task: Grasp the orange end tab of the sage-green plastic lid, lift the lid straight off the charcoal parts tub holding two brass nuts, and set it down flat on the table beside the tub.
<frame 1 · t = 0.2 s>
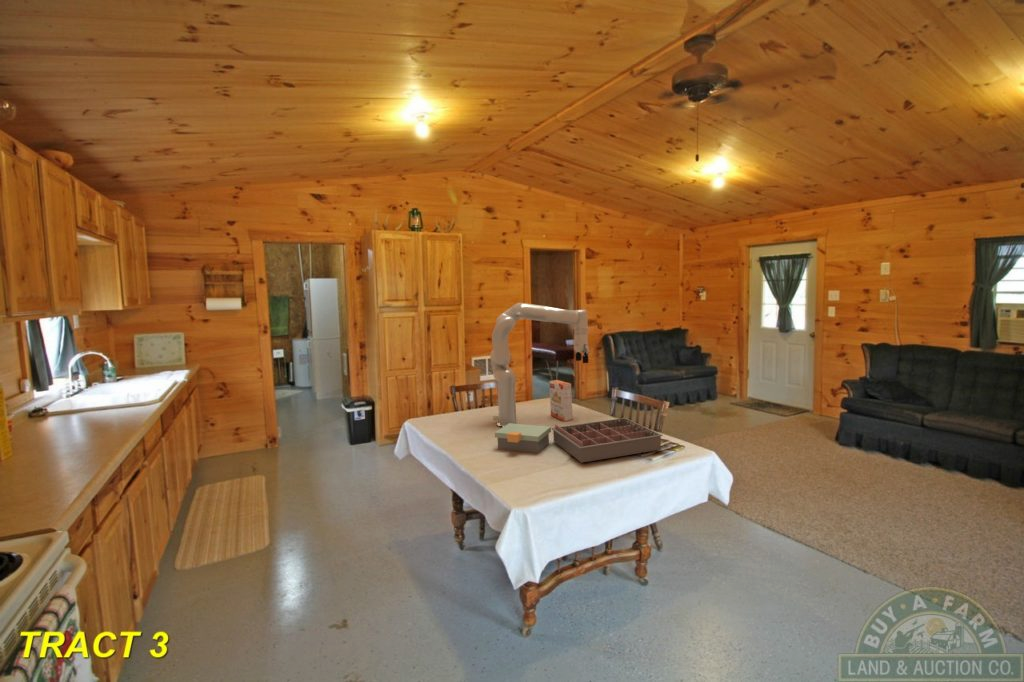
hand: (582, 361, 281), 31 cm above the table, tool pointing down, fingers open, 9 cm apart
brass nut A: (510, 446, 235), point 1 cm above the table, touching tub
tub: (523, 447, 234), on the table
cracker box: (561, 418, 281), on the table
lid: (523, 431, 233), point 8 cm above the table, touching tub
brass nut B: (535, 445, 233), point 1 cm above the table, touching tub
organizer tray: (605, 448, 228), on the table
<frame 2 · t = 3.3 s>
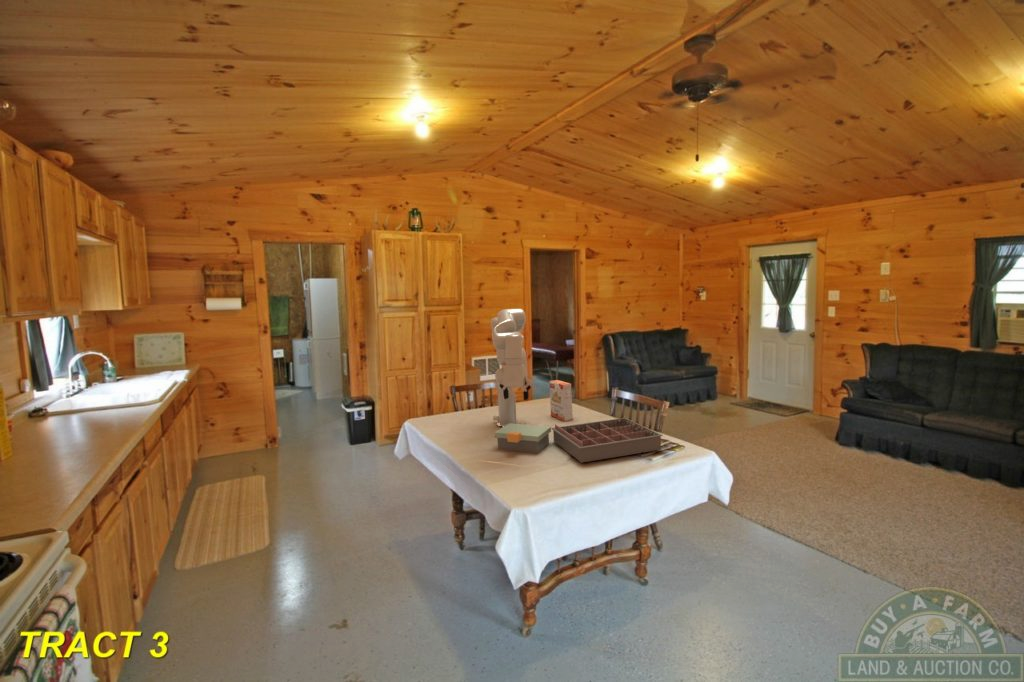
hand: (516, 399, 224), 25 cm above the table, tool pointing down, fingers open, 9 cm apart
nothing on the table moved.
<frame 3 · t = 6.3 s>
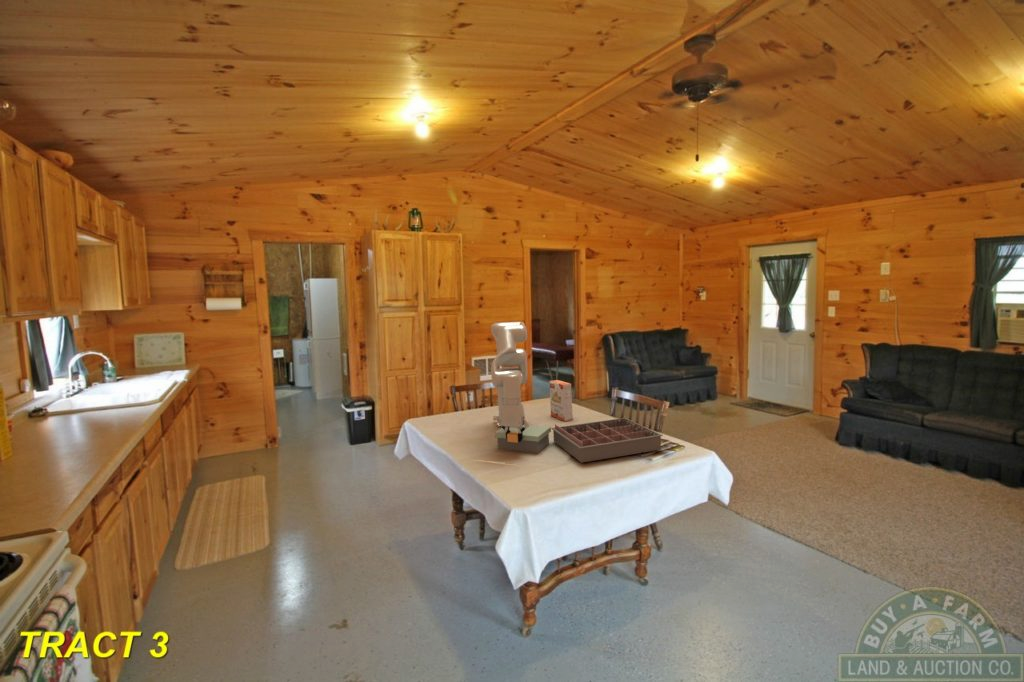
hand: (514, 440, 224), 7 cm above the table, tool pointing down, fingers closed on lid, 4 cm apart
lid: (523, 431, 233), point 8 cm above the table, touching gripper, tub
everything else where it was.
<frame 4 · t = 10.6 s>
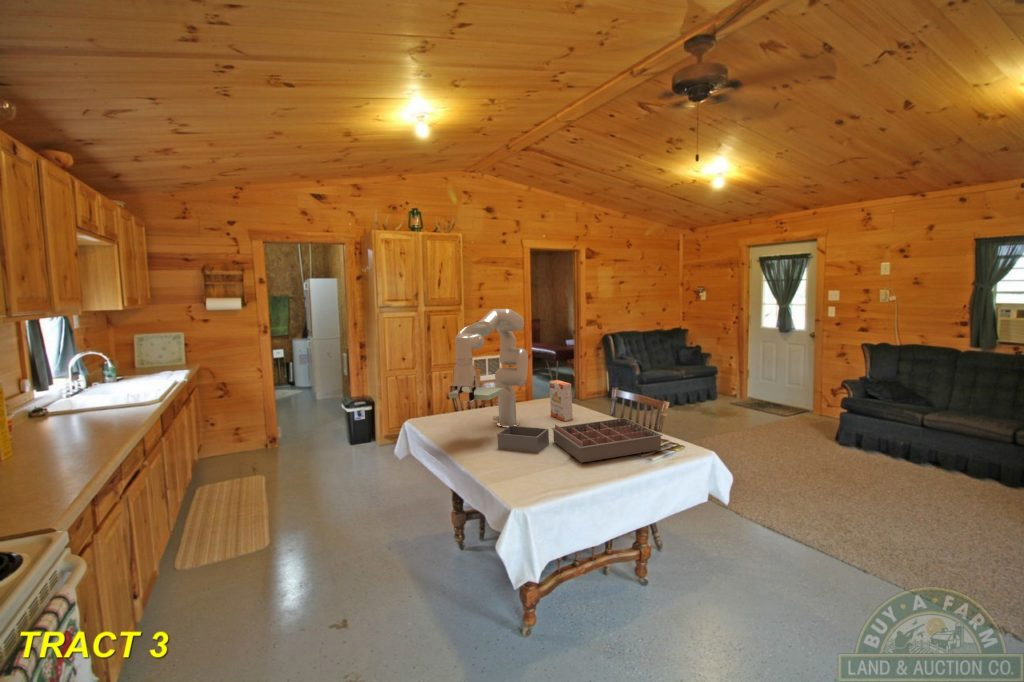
hand: (466, 399, 236), 23 cm above the table, tool pointing down, fingers closed on lid, 4 cm apart
lid: (476, 392, 245), point 25 cm above the table, touching gripper
everything else where it was.
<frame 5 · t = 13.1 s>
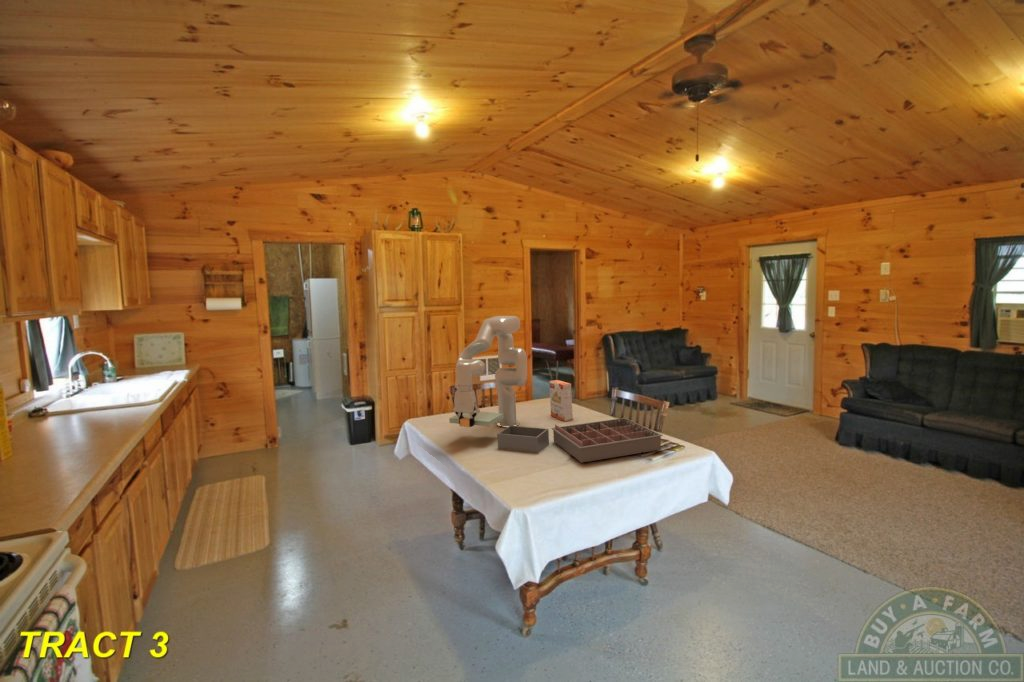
hand: (466, 425, 237), 11 cm above the table, tool pointing down, fingers closed on lid, 4 cm apart
lid: (476, 417, 246), point 12 cm above the table, touching gripper
everything else where it was.
when the fingers open (2 cm above the table, at t = 15.2 s): lid drops 2 cm, point 1 cm above the table.
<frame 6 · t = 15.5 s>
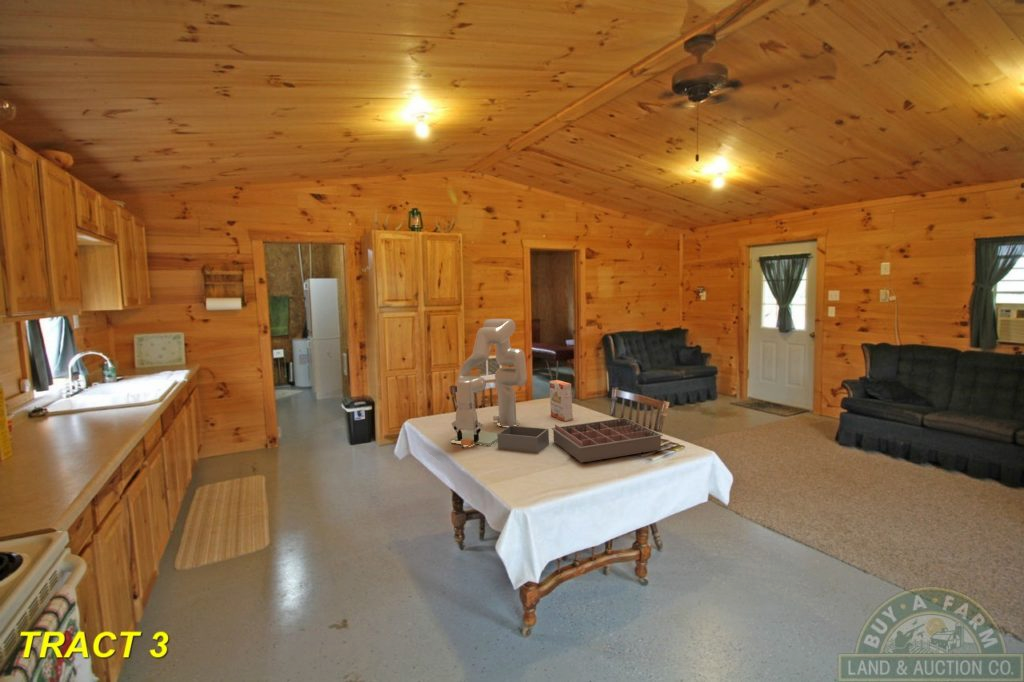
hand: (468, 440, 238), 3 cm above the table, tool pointing down, fingers open, 8 cm apart
lid: (478, 437, 247), point 1 cm above the table
everything else where it was.
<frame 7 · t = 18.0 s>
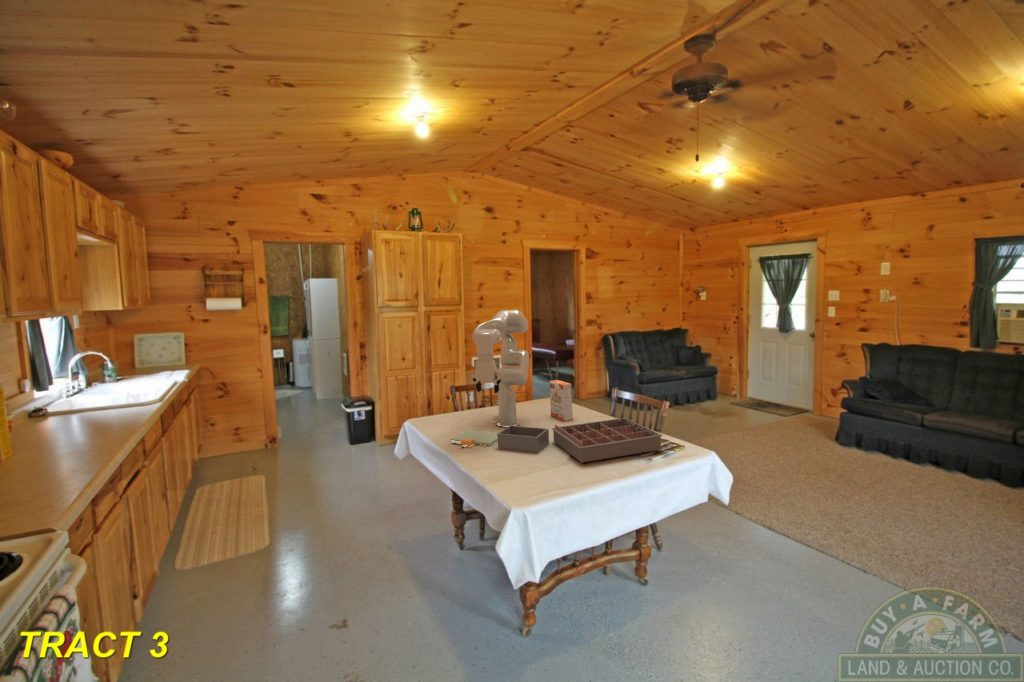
hand: (487, 391, 242), 25 cm above the table, tool pointing down, fingers open, 9 cm apart
nothing on the table moved.
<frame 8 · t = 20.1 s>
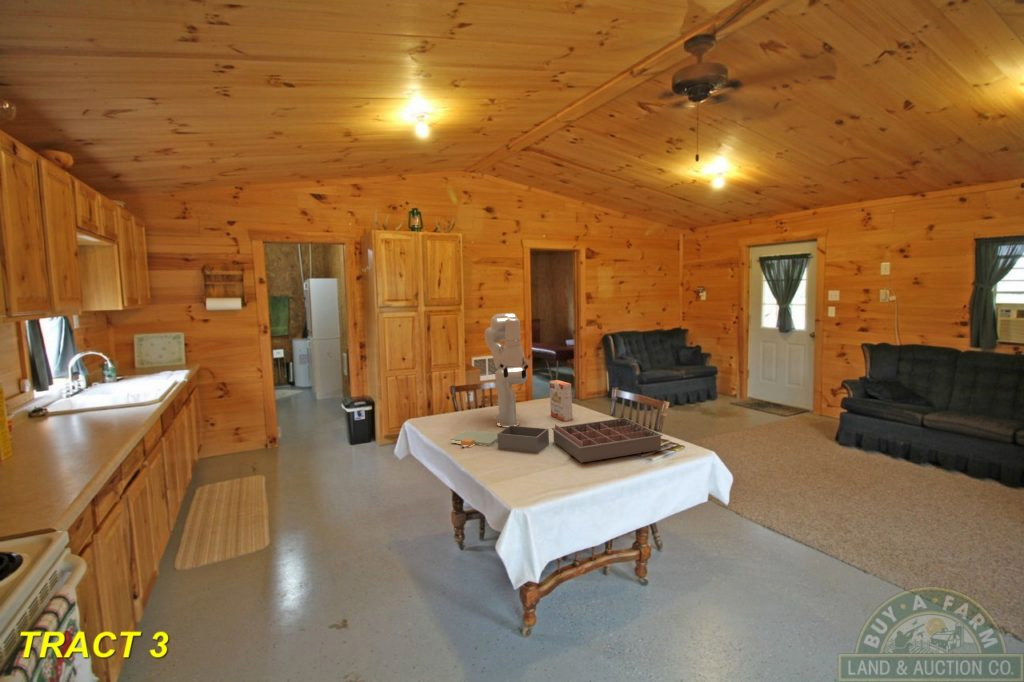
hand: (514, 377, 248), 30 cm above the table, tool pointing down, fingers open, 9 cm apart
nothing on the table moved.
at the end: lid touching table; lid inside the target area (0.2 cm from its centre), point 1.5 cm above the table; lid tilted 0° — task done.
